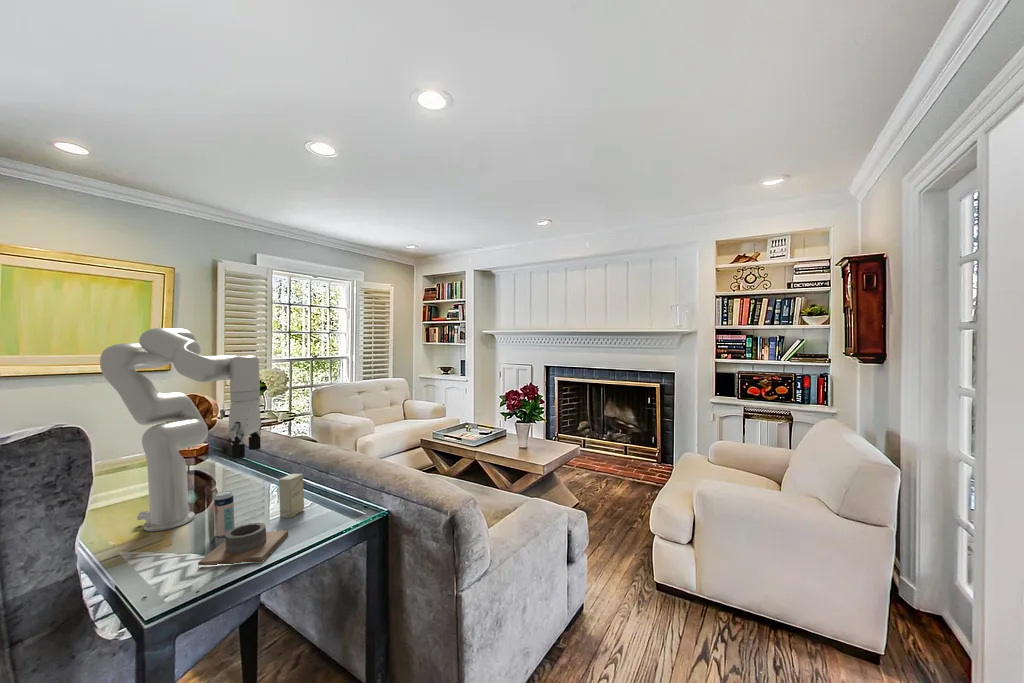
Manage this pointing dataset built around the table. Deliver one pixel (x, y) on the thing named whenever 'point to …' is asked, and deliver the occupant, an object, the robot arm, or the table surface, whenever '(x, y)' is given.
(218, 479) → the table surface
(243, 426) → the robot arm
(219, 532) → the beer can
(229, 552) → the can holder
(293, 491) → the skincare box
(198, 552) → the table surface
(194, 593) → the table surface
